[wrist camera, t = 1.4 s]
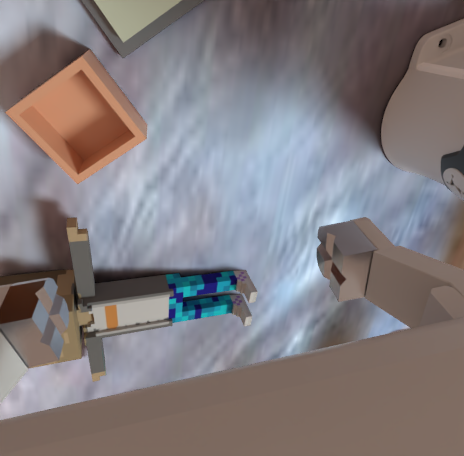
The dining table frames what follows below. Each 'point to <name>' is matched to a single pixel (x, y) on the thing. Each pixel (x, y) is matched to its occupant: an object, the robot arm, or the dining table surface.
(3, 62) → the dining table surface
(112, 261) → the dining table surface
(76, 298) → the toy
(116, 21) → the lid
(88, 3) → the mat
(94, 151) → the orange square open box
